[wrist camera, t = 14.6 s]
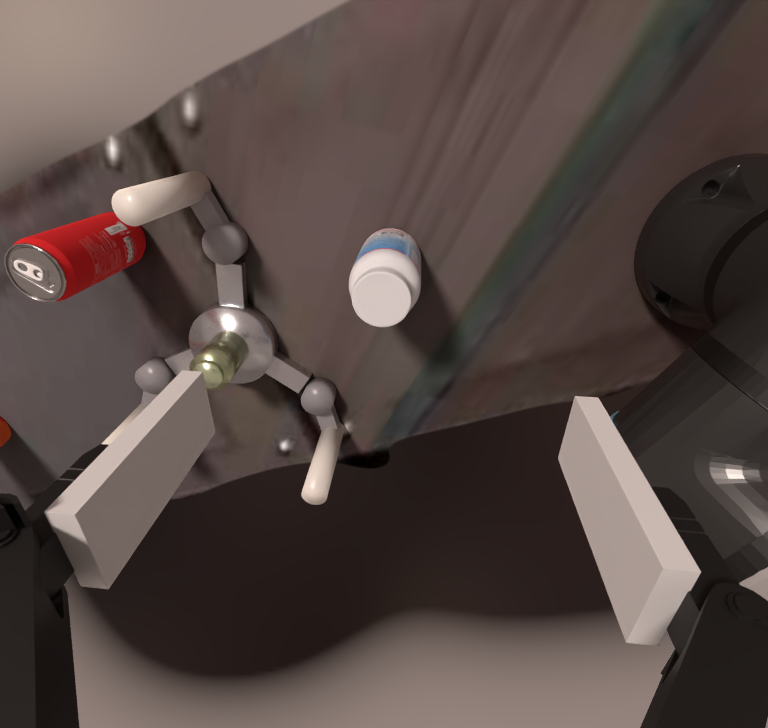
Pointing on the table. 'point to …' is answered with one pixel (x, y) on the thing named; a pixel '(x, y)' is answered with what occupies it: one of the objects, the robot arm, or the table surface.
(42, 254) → the beverage can
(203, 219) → the white lever handle
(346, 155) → the table surface
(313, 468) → the knob
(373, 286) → the pill bottle
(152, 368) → the knob
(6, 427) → the paper cup
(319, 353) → the table surface
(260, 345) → the levelling base
